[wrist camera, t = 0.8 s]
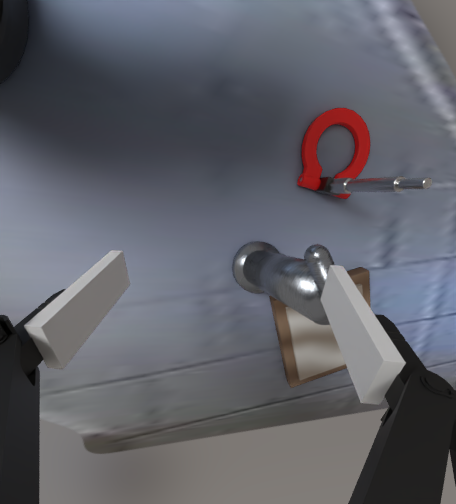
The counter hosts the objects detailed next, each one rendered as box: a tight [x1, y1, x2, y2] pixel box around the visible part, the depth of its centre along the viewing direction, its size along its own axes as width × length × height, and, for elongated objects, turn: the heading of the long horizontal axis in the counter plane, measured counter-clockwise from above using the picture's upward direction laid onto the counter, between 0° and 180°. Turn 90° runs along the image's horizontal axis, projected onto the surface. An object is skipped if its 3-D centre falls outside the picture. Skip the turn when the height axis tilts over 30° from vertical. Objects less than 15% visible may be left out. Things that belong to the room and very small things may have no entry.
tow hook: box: [297, 108, 432, 199], centre depth 21 cm, size 8×13×9 cm
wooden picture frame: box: [269, 267, 370, 388], centre depth 34 cm, size 16×14×2 cm
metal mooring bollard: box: [232, 242, 334, 325], centre depth 22 cm, size 9×6×14 cm
